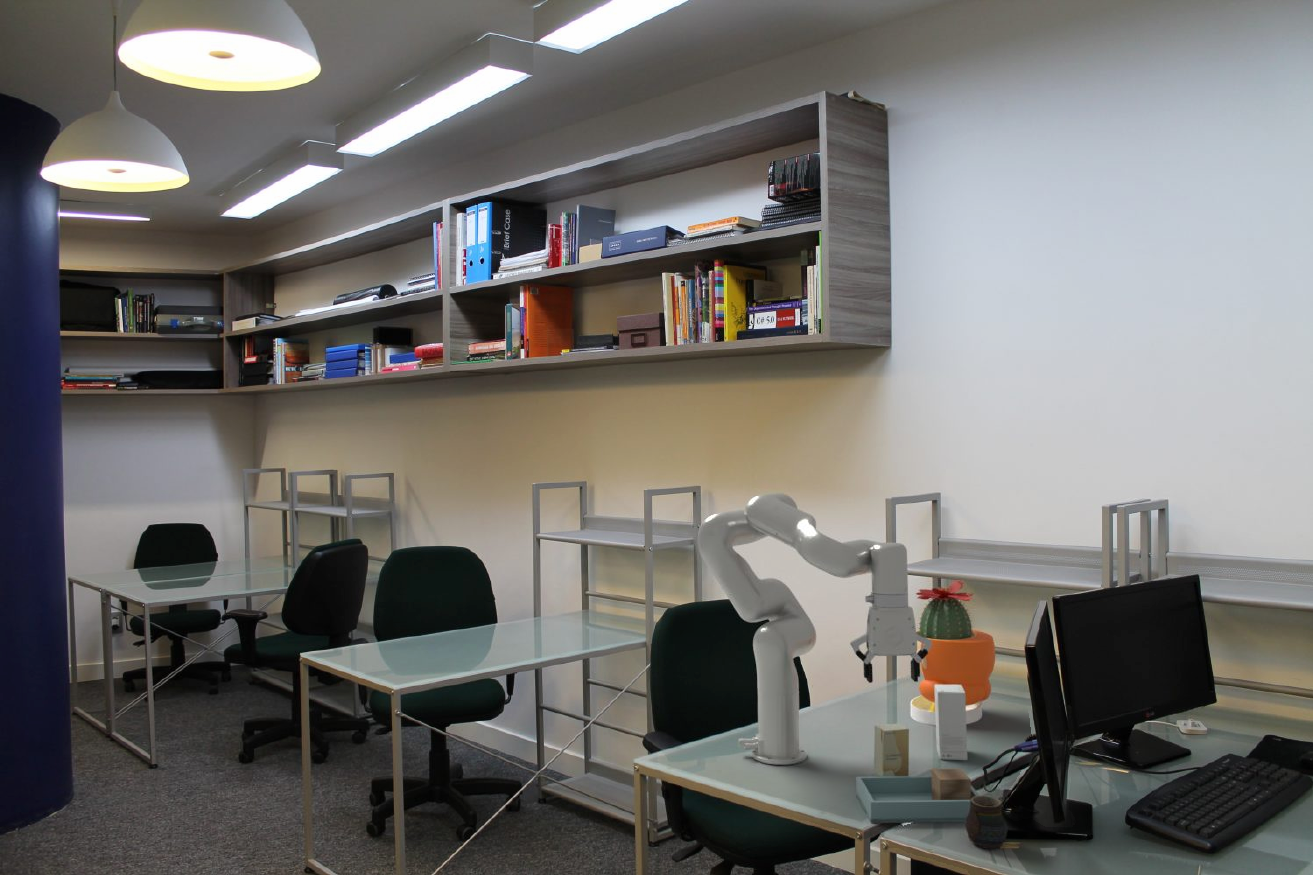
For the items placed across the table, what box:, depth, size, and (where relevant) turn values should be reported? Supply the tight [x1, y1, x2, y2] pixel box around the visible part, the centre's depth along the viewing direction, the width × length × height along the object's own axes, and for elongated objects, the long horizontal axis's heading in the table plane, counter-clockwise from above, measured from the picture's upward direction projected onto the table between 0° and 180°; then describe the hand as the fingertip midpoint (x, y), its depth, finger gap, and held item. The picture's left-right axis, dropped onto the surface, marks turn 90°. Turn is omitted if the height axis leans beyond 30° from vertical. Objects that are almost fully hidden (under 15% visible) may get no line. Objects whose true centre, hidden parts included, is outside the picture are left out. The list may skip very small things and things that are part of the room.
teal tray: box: [855, 775, 981, 824], centre depth 194 cm, size 22×14×4 cm, turn 90°
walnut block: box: [931, 768, 972, 800], centre depth 194 cm, size 6×6×6 cm
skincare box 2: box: [935, 685, 968, 761], centre depth 226 cm, size 8×7×16 cm
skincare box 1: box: [873, 723, 910, 777], centre depth 208 cm, size 6×4×12 cm
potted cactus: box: [909, 580, 996, 726], centre depth 256 cm, size 22×22×35 cm
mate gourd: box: [965, 794, 1008, 850], centre depth 177 cm, size 7×8×10 cm
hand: (891, 680), depth 207 cm, fingers open, 9 cm apart
